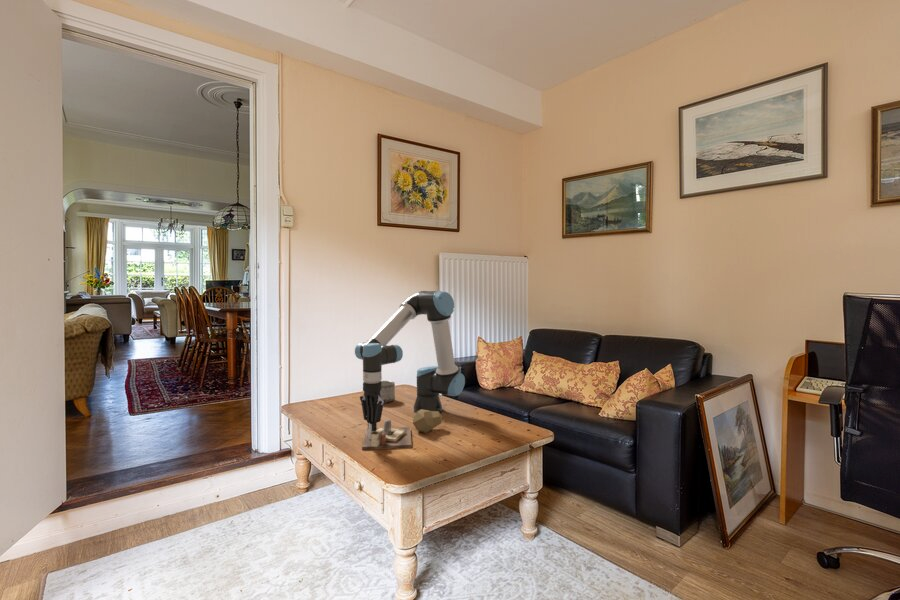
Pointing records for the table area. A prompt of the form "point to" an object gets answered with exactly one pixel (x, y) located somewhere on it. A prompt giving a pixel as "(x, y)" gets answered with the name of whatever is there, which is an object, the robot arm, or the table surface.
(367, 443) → the post board
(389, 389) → the planter
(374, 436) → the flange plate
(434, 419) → the low-poly potato
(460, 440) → the table surface
